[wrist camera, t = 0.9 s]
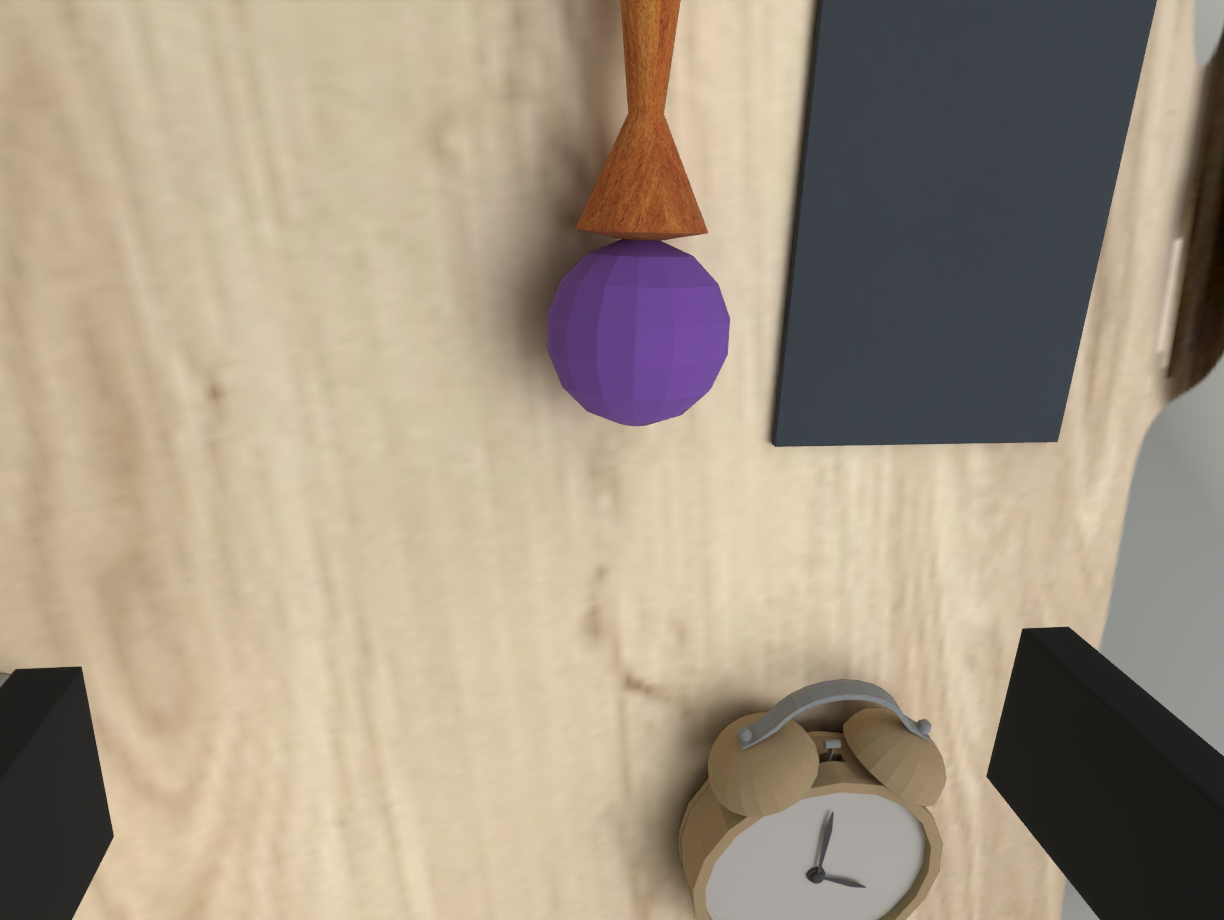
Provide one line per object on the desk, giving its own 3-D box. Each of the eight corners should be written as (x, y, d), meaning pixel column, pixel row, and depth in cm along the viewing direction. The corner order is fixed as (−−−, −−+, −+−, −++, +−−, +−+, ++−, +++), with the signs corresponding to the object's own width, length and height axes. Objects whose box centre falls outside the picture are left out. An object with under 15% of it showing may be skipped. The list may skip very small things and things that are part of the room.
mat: (852, -325, 26) (857, -331, 25) (1211, -280, 28) (1221, -286, 27) (771, 443, 34) (774, 447, 34) (1052, 439, 36) (1057, 442, 36)
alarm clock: (678, 981, 39) (730, 750, 32) (658, 881, 44) (699, 656, 36) (910, 960, 41) (1010, 737, 34) (870, 865, 45) (951, 648, 38)
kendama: (813, -319, 22) (755, 438, 28) (712, -217, 28) (679, 400, 33) (592, -378, 20) (575, 449, 26) (529, -256, 26) (526, 407, 31)
